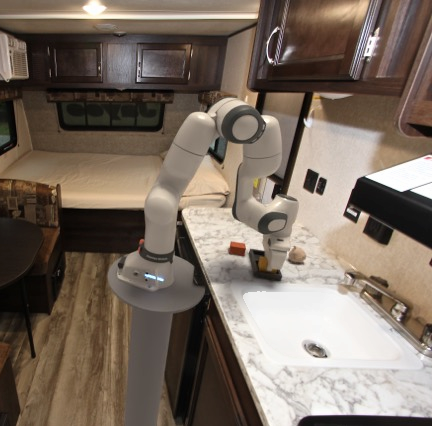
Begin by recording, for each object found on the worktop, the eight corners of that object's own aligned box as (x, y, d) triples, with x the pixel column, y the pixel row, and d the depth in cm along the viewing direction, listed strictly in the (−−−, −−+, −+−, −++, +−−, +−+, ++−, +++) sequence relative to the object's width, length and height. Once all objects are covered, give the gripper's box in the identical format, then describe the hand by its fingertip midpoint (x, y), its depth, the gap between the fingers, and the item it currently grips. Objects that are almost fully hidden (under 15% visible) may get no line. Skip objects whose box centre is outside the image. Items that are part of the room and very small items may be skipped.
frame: (254, 276, 115) (255, 271, 114) (248, 253, 131) (250, 248, 129) (280, 281, 112) (282, 276, 111) (272, 257, 128) (273, 252, 127)
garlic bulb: (285, 255, 129) (290, 239, 126) (302, 258, 128) (307, 242, 124) (288, 263, 124) (293, 247, 120) (305, 266, 122) (311, 250, 119)
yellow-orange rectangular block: (259, 270, 116) (261, 262, 114) (257, 264, 120) (260, 256, 118) (275, 273, 114) (278, 265, 113) (273, 267, 118) (276, 259, 116)
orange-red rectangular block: (229, 253, 130) (231, 246, 128) (229, 248, 134) (230, 241, 132) (244, 256, 128) (246, 248, 127) (243, 251, 132) (245, 243, 131)
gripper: (263, 222, 120) (255, 251, 126) (272, 247, 103) (262, 279, 108) (279, 224, 119) (271, 253, 125) (292, 250, 101) (281, 282, 107)
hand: (267, 265), depth 116 cm, fingers closed on yellow-orange rectangular block, 4 cm apart
